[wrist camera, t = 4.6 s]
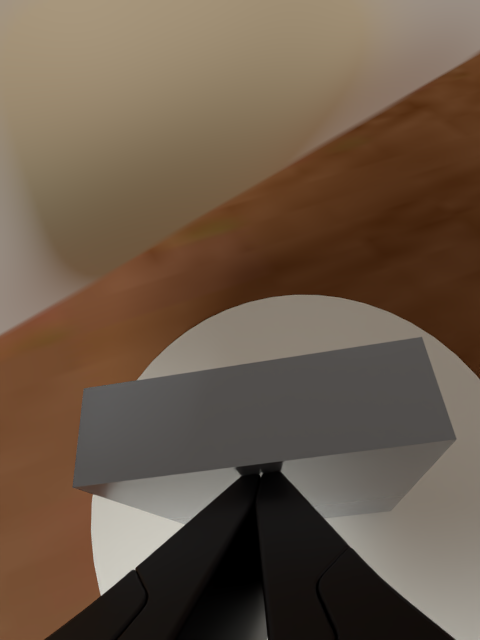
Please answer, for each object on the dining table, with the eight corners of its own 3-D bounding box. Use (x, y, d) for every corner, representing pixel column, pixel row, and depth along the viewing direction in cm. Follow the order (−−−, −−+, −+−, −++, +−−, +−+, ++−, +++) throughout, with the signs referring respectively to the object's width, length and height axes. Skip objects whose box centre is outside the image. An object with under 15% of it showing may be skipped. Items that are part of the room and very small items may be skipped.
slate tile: (391, 510, 16) (456, 439, 7) (205, 531, 17) (72, 486, 8) (377, 455, 17) (421, 337, 8) (203, 477, 18) (84, 388, 9)
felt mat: (542, 339, 18) (547, 333, 18) (527, 903, 12) (535, 917, 11) (182, 274, 23) (179, 269, 23) (23, 640, 17) (15, 642, 16)
